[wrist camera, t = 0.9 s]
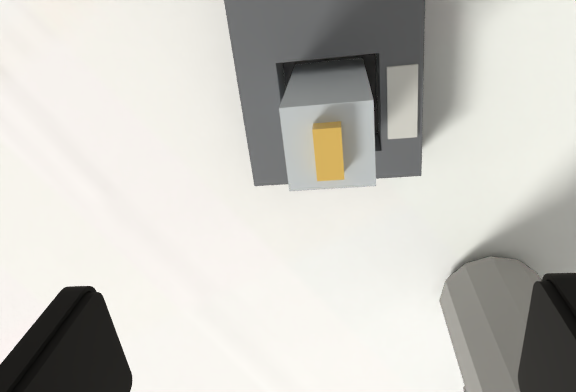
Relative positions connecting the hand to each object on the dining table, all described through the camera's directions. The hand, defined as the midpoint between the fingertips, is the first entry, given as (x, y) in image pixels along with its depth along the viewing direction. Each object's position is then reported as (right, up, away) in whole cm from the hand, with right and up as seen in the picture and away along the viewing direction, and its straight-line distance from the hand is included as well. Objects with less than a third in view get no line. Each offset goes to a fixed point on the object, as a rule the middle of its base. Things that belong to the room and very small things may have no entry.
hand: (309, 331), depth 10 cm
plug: (+2, +9, +18) cm, 20 cm away
